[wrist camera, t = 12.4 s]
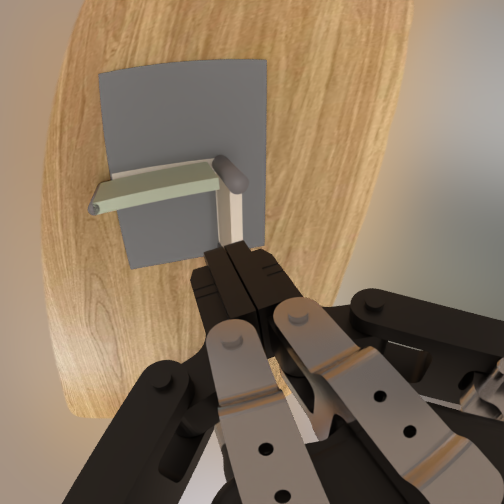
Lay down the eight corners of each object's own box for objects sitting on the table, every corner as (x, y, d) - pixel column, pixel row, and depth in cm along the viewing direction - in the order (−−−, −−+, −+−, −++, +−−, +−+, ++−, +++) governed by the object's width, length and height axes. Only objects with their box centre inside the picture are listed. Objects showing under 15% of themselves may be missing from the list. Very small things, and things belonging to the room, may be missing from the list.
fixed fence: (232, 251, 40) (249, 285, 34) (217, 254, 39) (232, 289, 33) (228, 154, 33) (248, 172, 27) (211, 156, 32) (227, 175, 26)
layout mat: (263, 244, 41) (264, 246, 41) (130, 267, 37) (130, 270, 36) (265, 60, 28) (267, 59, 28) (99, 74, 24) (98, 74, 23)
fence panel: (206, 161, 32) (218, 177, 27) (207, 171, 33) (219, 189, 28) (95, 184, 29) (86, 205, 24) (98, 194, 30) (89, 216, 25)
